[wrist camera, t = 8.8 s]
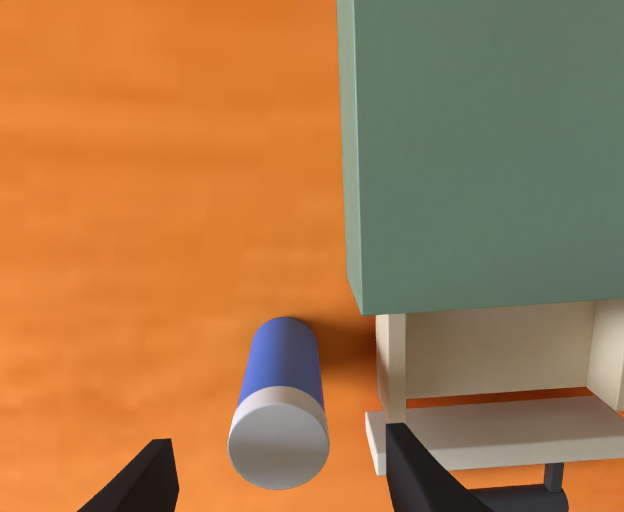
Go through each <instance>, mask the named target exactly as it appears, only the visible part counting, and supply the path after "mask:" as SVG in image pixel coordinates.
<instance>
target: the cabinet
mask: <svg viewBox="0 0 624 512" xmlns="http://www.w3.org/2000/svg"><path fill="white" fill-rule="evenodd" d="M337 26H338V52H339V79H340V105H341V132H342V159H343V185H344V212H345V238H346V265H347V279H348V281H349V284H350V287H351V289H352V292H353V295H354V297H355V300H356V302H357V305H358V308H359V310H360V312H361V315H362V316H371V315H386V314H401V313H416V312H431V311H446V310H461V309H477V308H492V307H507V306H522V305H537V304H552V303H567V302H582V301H597V300H612V299H624V0H337Z"/></svg>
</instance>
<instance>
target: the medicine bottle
mask: <svg viewBox="0 0 624 512" xmlns="http://www.w3.org/2000/svg"><path fill="white" fill-rule="evenodd" d="M227 446H228V454H229V458H230V461H231V463H232V465H233V467H234V468H235V470H236V471H237V472H238V473H239V474H240V475H241V476H242V477H243V478H244V479H245V480H247V481H248V482H250V483H252V484H254V485H256V486H259V487H262V488H266V489H273V490H283V489H290V488H294V487H297V486H300V485H302V484H304V483H306V482H308V481H309V480H311V479H312V478H313V477H315V476H316V475H317V474H318V473H319V471H320V470H321V469H322V467H323V466H324V464H325V462H326V460H327V457H328V454H329V435H328V425H327V419H326V416H325V410H324V400H323V390H322V381H321V371H320V361H319V352H318V343H317V339H316V336H315V334H314V332H313V331H312V330H311V328H310V327H309V326H308V325H306V324H305V323H304V322H302V321H300V320H297V319H294V318H289V317H281V318H276V319H272V320H270V321H268V322H266V323H265V324H263V325H262V326H261V327H260V328H259V329H258V331H257V332H256V334H255V336H254V338H253V342H252V346H251V350H250V355H249V359H248V363H247V367H246V371H245V376H244V380H243V384H242V388H241V393H240V397H239V401H238V405H237V410H236V412H235V414H234V417H233V421H232V425H231V429H230V433H229V437H228V444H227Z"/></svg>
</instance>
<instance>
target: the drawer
mask: <svg viewBox="0 0 624 512" xmlns="http://www.w3.org/2000/svg"><path fill="white" fill-rule="evenodd" d="M376 357H377V393H378V396H379V399H380V402H381V405H382V408H383V410H381V411H367V412H366V413H365V418H366V433H367V437H368V441H369V445H370V449H371V453H372V458H373V462H374V466H375V470H376V474H377V475H378V476H384V475H386V424H388V423H402V422H404V423H405V424H406V425H407V426H408V428H409V429H410V430H411V431H412V432H413V434H414V435H415V436H416V437H417V439H418V440H419V441H420V442H421V443H422V444H423V446H424V447H425V448H426V449H427V450H428V451H429V452H430V453H431V454H432V456H433V457H434V458H435V459H436V460H437V461H438V462H439V463H440V464H441V465H442V466H443V467H444V468H445V469H446V470H447V471H452V470H465V469H479V468H492V467H506V466H519V465H533V464H545V473H544V484H533V485H520V486H506V487H493V488H480V489H467V490H468V491H469V492H470V493H472V494H473V495H474V496H475V497H476V498H478V499H479V500H480V501H481V502H483V503H484V504H485V505H486V506H488V507H489V508H490V509H492V510H493V511H494V512H568V510H569V505H568V500H567V497H566V495H565V492H564V491H563V489H562V488H561V487H562V478H563V469H564V462H574V461H587V460H601V459H614V458H624V418H623V417H621V416H620V415H619V414H618V413H617V412H615V411H624V299H612V300H597V301H582V302H567V303H552V304H537V305H522V306H507V307H492V308H477V309H461V310H446V311H431V312H416V313H401V314H386V315H376ZM572 387H587V388H588V389H589V390H590V391H592V392H593V393H594V394H595V395H597V396H598V397H599V398H600V399H599V398H598V397H597V396H595V395H593V396H579V397H564V398H550V399H536V400H522V401H508V402H494V403H480V404H466V405H452V406H437V407H423V408H409V409H406V399H416V398H430V397H444V396H458V395H473V394H487V393H501V392H515V391H529V390H544V389H558V388H572ZM602 400H603V401H604V402H605V403H604V402H603V401H602ZM608 405H609V406H610V407H611V408H610V407H609V406H608ZM613 409H614V410H615V411H614V410H613Z"/></svg>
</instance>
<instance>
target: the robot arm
mask: <svg viewBox="0 0 624 512" xmlns="http://www.w3.org/2000/svg"><path fill="white" fill-rule="evenodd" d="M386 476H387V481H388V486H389V491H390V495H391V500H392V505H393V508H394V511H395V512H494V511H493V510H492V509H490V508H489V507H488V506H486V505H485V504H484V503H483V502H481V501H480V500H479V499H478V498H476V497H475V496H474V495H473V494H472V493H470V492H469V491H468V490H467V489H466V488H465V487H464V486H462V485H461V484H460V483H459V482H458V481H457V480H456V479H455V478H454V477H453V476H452V475H451V474H450V473H449V472H448V471H447V470H446V469H445V468H444V467H443V466H442V465H441V464H440V463H439V462H438V461H437V460H436V459H435V458H434V457H433V456H432V454H431V453H430V452H429V451H428V450H427V449H426V448H425V447H424V446H423V444H422V443H421V442H420V441H419V440H418V439H417V437H416V436H415V435H414V434H413V432H412V431H411V430H410V429H409V428H408V426H407V425H406V424H405V423H404V422H402V423H388V424H386ZM178 493H179V484H178V478H177V472H176V466H175V460H174V454H173V448H172V441H171V438H169V439H154V440H152V441H151V442H150V443H149V444H148V445H147V446H146V447H145V448H144V449H143V450H142V451H141V452H140V453H139V454H138V455H137V456H136V457H135V458H134V459H133V460H132V461H131V462H130V463H129V464H128V465H127V466H126V467H125V468H124V469H123V470H122V471H121V472H120V473H118V474H117V475H116V476H115V477H114V478H113V479H112V480H111V481H110V482H109V483H108V484H107V485H106V486H105V487H104V488H103V489H102V490H101V491H99V492H98V493H97V494H96V495H95V496H94V497H93V498H92V499H91V500H89V501H88V502H87V503H86V504H85V505H84V506H83V507H82V508H81V509H79V510H78V511H77V512H174V510H175V506H176V502H177V498H178Z"/></svg>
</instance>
